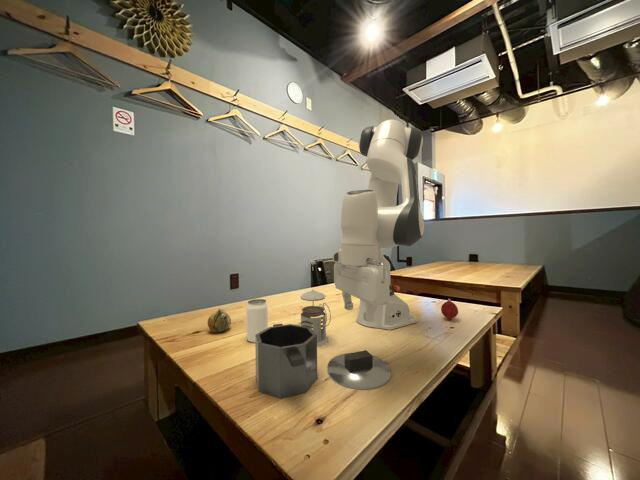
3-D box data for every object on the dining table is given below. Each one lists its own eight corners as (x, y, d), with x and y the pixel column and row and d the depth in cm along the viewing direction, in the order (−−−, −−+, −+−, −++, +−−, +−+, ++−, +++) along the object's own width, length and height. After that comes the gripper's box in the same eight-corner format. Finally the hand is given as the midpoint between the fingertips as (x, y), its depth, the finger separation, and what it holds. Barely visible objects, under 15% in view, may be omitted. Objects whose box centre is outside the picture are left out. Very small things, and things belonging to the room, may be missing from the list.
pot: (301, 353, 69) (301, 317, 69) (330, 399, 50) (329, 349, 49) (252, 362, 64) (252, 323, 64) (263, 416, 45) (262, 361, 45)
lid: (368, 353, 70) (368, 338, 70) (404, 382, 56) (404, 364, 56) (318, 363, 64) (318, 347, 64) (344, 398, 50) (344, 378, 50)
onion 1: (236, 327, 89) (236, 305, 89) (222, 336, 82) (222, 311, 81) (217, 325, 91) (217, 303, 91) (202, 334, 83) (202, 310, 83)
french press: (314, 331, 85) (313, 258, 85) (339, 341, 77) (339, 260, 76) (291, 339, 78) (290, 260, 78) (316, 352, 70) (316, 263, 69)
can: (262, 344, 75) (262, 304, 75) (243, 342, 76) (242, 303, 76) (271, 335, 82) (270, 299, 81) (252, 334, 83) (252, 298, 83)
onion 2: (461, 322, 92) (461, 301, 92) (445, 322, 93) (445, 301, 92) (453, 317, 98) (453, 297, 98) (438, 317, 98) (438, 297, 98)
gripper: (397, 260, 51) (396, 328, 51) (350, 254, 70) (349, 303, 70) (371, 261, 48) (370, 331, 49) (330, 254, 68) (329, 305, 68)
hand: (357, 314), depth 59 cm, fingers open, 8 cm apart
